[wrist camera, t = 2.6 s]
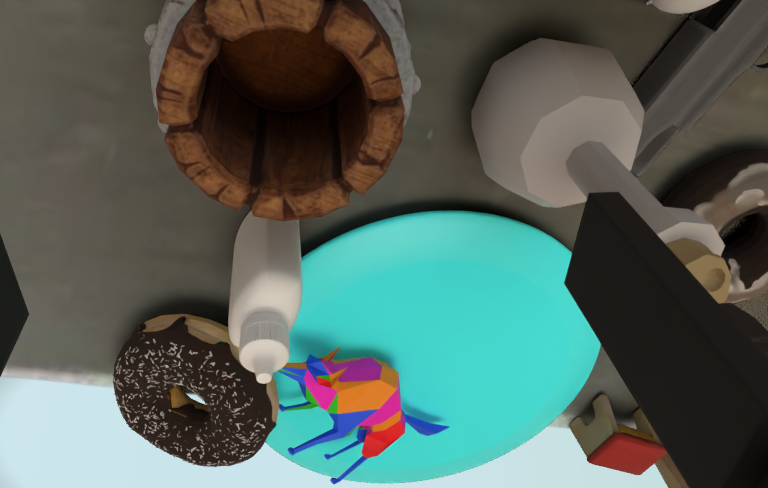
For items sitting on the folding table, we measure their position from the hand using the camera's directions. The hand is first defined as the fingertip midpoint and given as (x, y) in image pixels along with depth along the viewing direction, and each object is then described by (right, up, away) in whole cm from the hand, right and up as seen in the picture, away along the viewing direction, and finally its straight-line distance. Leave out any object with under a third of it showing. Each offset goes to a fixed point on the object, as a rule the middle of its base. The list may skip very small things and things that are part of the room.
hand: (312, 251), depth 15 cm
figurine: (-4, -13, +28) cm, 32 cm away
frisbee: (+4, -8, +32) cm, 34 cm away
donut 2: (+25, +2, +29) cm, 38 cm away
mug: (-3, +12, +18) cm, 22 cm away
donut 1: (-10, -8, +29) cm, 32 cm away
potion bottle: (+10, +9, +22) cm, 26 cm away
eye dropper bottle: (-6, +1, +25) cm, 25 cm away
